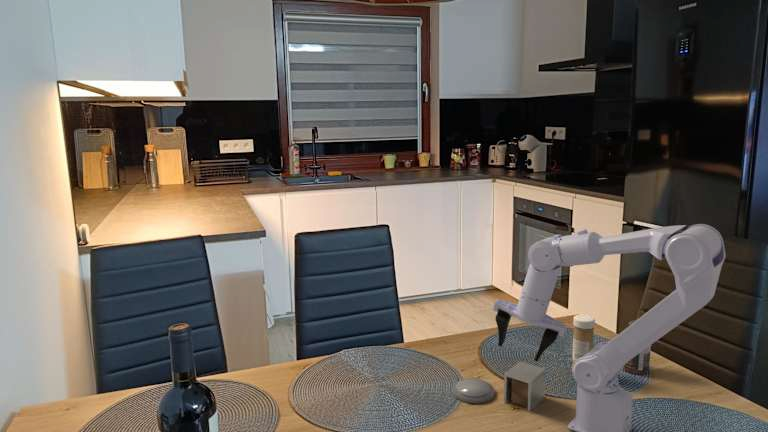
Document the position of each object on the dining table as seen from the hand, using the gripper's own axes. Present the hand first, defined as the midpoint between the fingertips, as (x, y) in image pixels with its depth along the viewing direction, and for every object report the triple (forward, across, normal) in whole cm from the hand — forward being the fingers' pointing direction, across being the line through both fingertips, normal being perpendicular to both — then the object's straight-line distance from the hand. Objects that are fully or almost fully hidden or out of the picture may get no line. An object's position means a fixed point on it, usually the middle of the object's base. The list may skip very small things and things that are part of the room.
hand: (518, 351), depth 111 cm
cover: (+10, -4, +1) cm, 11 cm away
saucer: (+12, +6, +3) cm, 14 cm away
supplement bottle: (+7, -24, -23) cm, 34 cm away
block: (+10, -4, +1) cm, 11 cm away
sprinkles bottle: (+9, -13, -16) cm, 23 cm away
